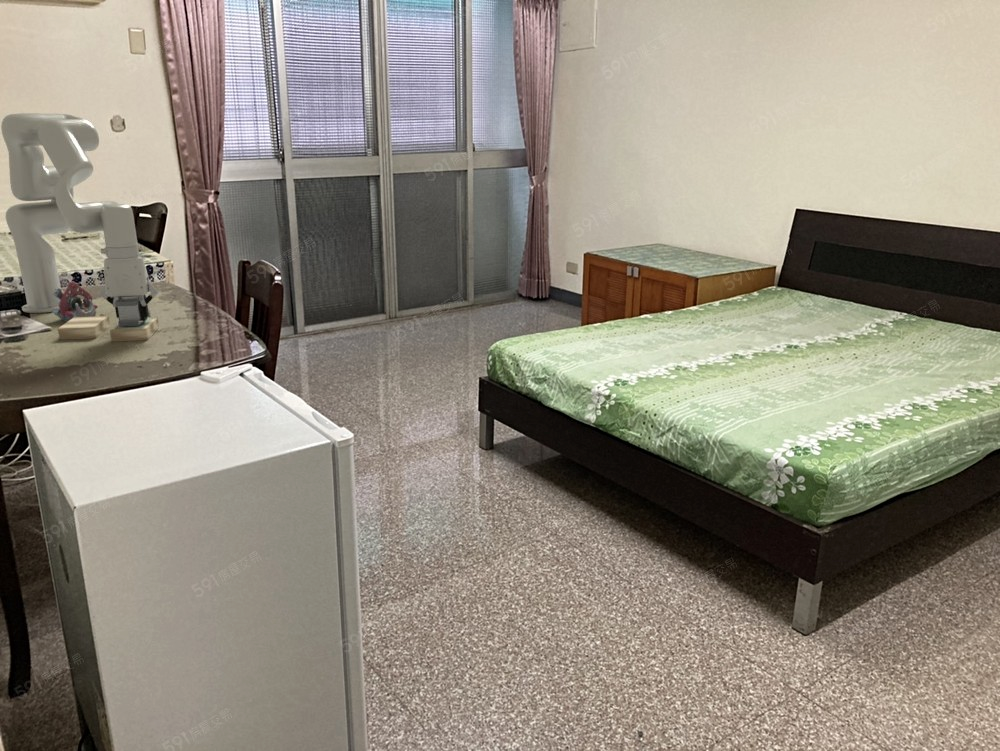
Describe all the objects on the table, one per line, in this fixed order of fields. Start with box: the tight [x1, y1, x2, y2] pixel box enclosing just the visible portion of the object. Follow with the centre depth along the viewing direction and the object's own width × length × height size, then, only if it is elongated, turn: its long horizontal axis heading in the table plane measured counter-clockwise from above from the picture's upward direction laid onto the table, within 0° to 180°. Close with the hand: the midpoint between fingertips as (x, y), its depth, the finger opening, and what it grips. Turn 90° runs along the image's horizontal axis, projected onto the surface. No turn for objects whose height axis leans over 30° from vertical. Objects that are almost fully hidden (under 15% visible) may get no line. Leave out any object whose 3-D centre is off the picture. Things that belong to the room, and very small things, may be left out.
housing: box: [115, 296, 143, 326], centre depth 204 cm, size 9×5×7 cm, turn 10°
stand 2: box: [109, 317, 160, 342], centre depth 205 cm, size 12×9×3 cm
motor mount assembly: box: [51, 280, 99, 323], centre depth 221 cm, size 11×11×12 cm
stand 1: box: [57, 315, 111, 341], centre depth 207 cm, size 12×9×3 cm
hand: (133, 319), depth 205 cm, fingers closed on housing, 5 cm apart
